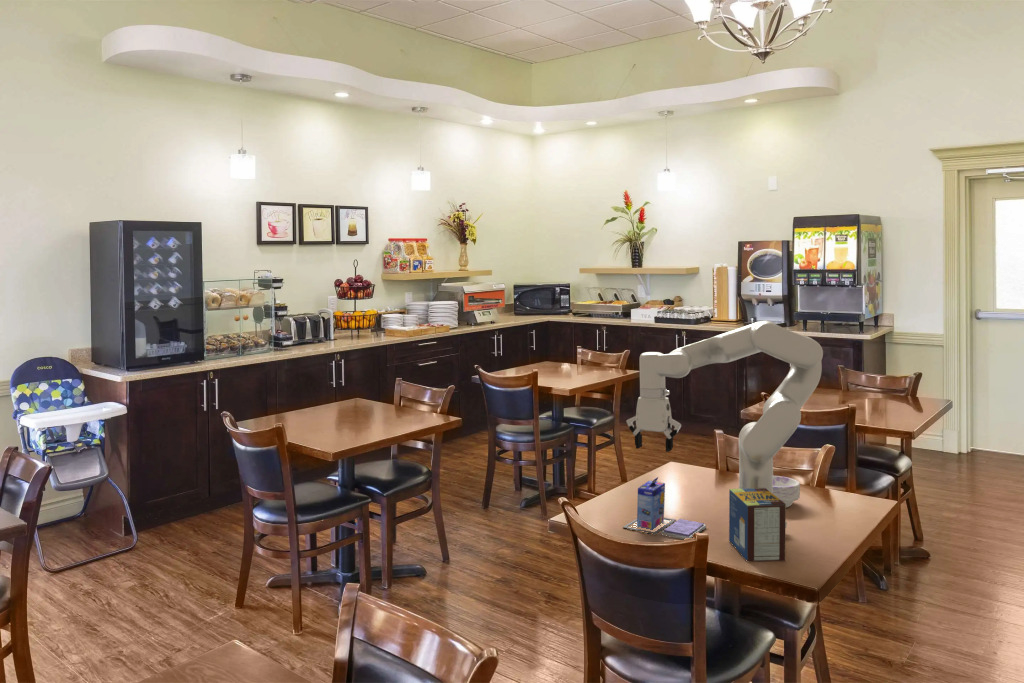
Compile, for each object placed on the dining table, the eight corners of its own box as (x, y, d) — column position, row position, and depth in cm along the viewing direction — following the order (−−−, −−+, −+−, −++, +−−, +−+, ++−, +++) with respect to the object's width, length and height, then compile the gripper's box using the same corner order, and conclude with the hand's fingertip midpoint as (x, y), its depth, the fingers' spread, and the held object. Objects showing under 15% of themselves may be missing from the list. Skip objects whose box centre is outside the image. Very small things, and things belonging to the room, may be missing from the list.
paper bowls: (792, 497, 257) (792, 474, 256) (805, 511, 242) (805, 487, 241) (745, 497, 258) (746, 474, 258) (755, 511, 243) (756, 486, 242)
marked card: (675, 521, 235) (675, 519, 235) (655, 535, 223) (655, 533, 223) (644, 515, 241) (644, 513, 241) (622, 528, 229) (622, 526, 229)
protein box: (764, 540, 218) (765, 487, 216) (785, 561, 202) (786, 503, 201) (728, 541, 217) (728, 488, 216) (746, 562, 202) (747, 505, 200)
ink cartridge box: (653, 530, 227) (653, 482, 225) (636, 527, 229) (636, 480, 228) (665, 521, 235) (665, 474, 234) (648, 518, 238) (648, 472, 236)
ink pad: (706, 527, 229) (706, 523, 228) (689, 540, 218) (689, 535, 218) (678, 522, 234) (678, 518, 233) (661, 535, 223) (661, 530, 223)
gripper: (684, 393, 229) (685, 449, 230) (631, 389, 238) (632, 443, 240) (675, 397, 222) (676, 455, 224) (621, 393, 232) (622, 449, 234)
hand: (653, 449), depth 232 cm, fingers open, 9 cm apart
